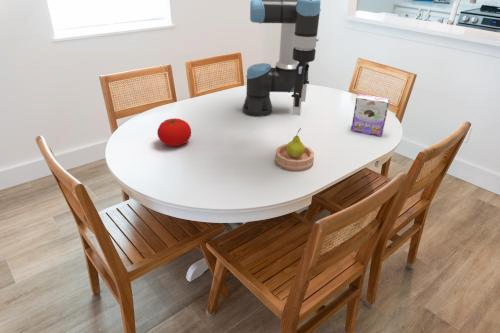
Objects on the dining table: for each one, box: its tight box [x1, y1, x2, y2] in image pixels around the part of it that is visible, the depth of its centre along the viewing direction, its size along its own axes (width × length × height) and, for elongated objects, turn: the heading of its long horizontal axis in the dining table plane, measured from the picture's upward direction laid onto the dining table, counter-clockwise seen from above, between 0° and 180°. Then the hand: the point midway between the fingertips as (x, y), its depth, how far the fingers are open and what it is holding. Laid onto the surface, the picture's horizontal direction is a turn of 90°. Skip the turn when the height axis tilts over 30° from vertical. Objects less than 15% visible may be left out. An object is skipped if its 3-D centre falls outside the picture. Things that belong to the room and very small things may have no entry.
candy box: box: [350, 93, 390, 137], centre depth 168 cm, size 14×6×16 cm, turn 65°
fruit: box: [286, 127, 305, 158], centre depth 143 cm, size 7×7×12 cm
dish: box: [274, 143, 315, 172], centre depth 146 cm, size 15×15×4 cm
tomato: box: [156, 117, 192, 147], centre depth 156 cm, size 14×13×10 cm
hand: (298, 107), depth 136 cm, fingers open, 13 cm apart
